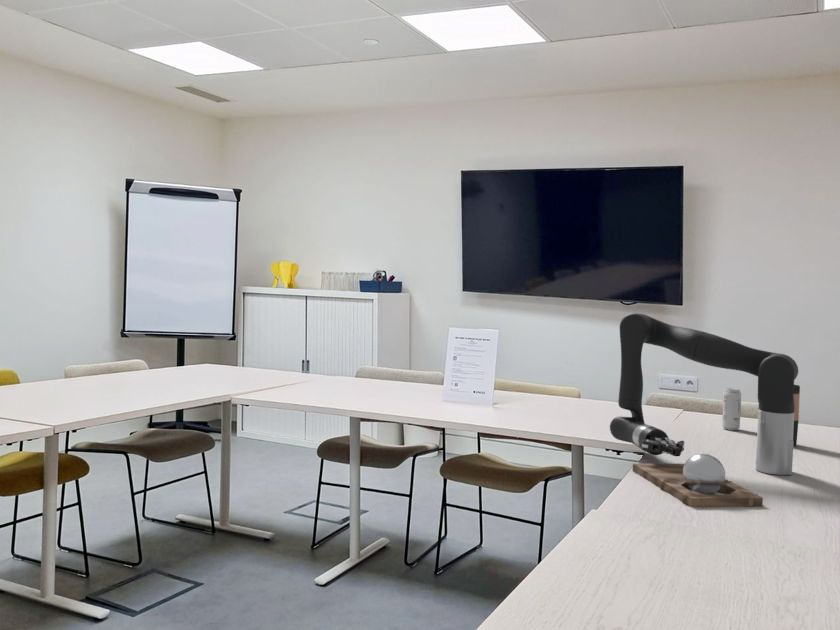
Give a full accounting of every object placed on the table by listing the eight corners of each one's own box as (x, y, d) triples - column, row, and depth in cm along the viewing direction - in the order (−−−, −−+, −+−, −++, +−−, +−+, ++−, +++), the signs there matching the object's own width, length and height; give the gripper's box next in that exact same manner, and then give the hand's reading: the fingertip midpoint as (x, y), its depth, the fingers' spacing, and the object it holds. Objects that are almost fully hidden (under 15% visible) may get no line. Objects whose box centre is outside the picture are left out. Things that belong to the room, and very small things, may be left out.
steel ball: (737, 459, 188) (729, 495, 191) (702, 443, 196) (695, 477, 199) (712, 469, 183) (705, 506, 186) (677, 452, 190) (671, 487, 193)
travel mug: (800, 447, 252) (803, 387, 251) (775, 445, 254) (778, 385, 253) (793, 442, 260) (796, 384, 259) (769, 441, 261) (772, 382, 260)
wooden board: (630, 470, 213) (630, 463, 213) (695, 470, 215) (695, 463, 215) (689, 507, 179) (689, 498, 179) (765, 506, 181) (766, 498, 181)
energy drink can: (737, 431, 278) (739, 390, 277) (720, 429, 281) (722, 388, 280) (740, 429, 283) (742, 388, 282) (723, 427, 286) (725, 387, 285)
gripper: (628, 426, 222) (655, 438, 205) (672, 426, 224) (701, 438, 207) (627, 451, 222) (653, 466, 205) (671, 451, 224) (700, 466, 207)
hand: (677, 452), depth 206 cm, fingers closed
